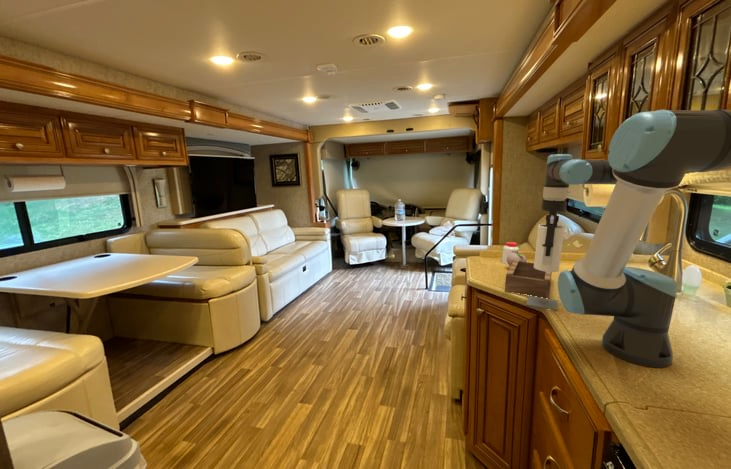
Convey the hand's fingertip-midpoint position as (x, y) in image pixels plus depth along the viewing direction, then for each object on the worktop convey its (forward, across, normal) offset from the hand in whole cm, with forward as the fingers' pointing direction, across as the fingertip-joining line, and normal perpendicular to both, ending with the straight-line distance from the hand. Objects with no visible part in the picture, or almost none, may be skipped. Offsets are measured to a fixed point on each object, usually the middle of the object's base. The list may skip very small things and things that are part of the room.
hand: (547, 261), depth 121 cm
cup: (+3, 0, 0) cm, 3 cm away
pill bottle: (+17, +53, +18) cm, 58 cm away
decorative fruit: (+17, +41, +14) cm, 46 cm away
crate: (+17, +19, +6) cm, 26 cm away
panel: (+16, 0, 0) cm, 16 cm away
